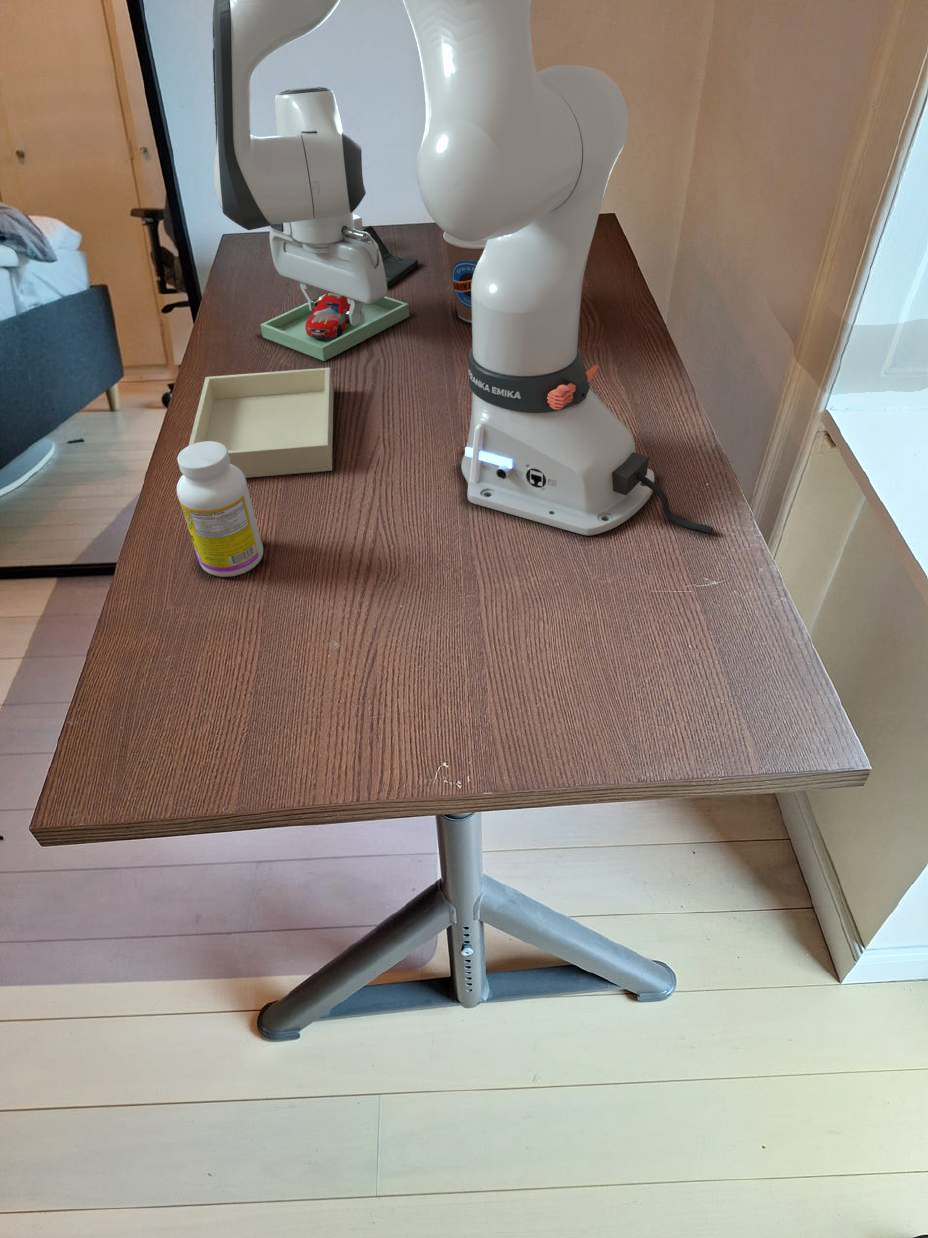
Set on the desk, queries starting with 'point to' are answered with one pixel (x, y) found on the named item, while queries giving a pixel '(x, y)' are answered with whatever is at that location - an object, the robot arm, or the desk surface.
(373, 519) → the desk surface
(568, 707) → the desk surface
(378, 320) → the tray
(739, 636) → the desk surface
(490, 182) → the robot arm
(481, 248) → the coffee cup
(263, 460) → the cream shallow box
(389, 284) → the handheld gaming console
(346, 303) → the race car
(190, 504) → the supplement bottle
